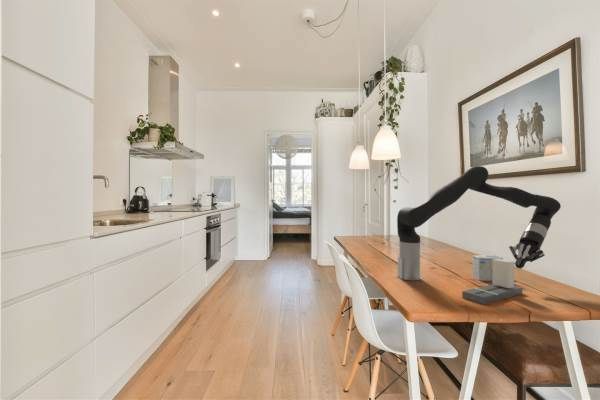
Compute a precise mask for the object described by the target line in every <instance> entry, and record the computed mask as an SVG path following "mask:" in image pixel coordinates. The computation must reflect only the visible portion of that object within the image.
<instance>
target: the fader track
mask: <svg viewBox="0 0 600 400" xmlns="http://www.w3.org/2000/svg"><path fill="white" fill-rule="evenodd" d="M461 293H462V295H461V297H462V299H465V300H469V301H471V302H475V303H478V304H481V305H487V304H490V303H494V302H498V301H502V300H505V299H509V298H511V297H515V296H519V295H522V294H523V287H522V286H518V285H514V287H512V288H505V287H501V286H497V285H493V284H492V283H491V284H488V285H484V286H480V287H472V288H471V289H466V290H463V291H462V292H461Z"/></svg>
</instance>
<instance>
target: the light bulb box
mask: <svg viewBox="0 0 600 400" xmlns="http://www.w3.org/2000/svg"><path fill="white" fill-rule="evenodd" d="M493 259H503V260H504V258H503V257H500V256H497V255H484V254H483V255H481V254H480V255H476V254H475V255H474V254H473V255H472V278H473V279H476V280H477V281H480V282H481V281H482V282H485V281H486V282H492V271H493Z"/></svg>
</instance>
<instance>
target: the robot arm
mask: <svg viewBox="0 0 600 400" xmlns="http://www.w3.org/2000/svg"><path fill="white" fill-rule="evenodd" d="M488 178H489V170H488V169H487V168H486V167H484V166H483V165H477V166H472V167H471V168H468V169H467V170H466V171H464V173H462V174H461V175H460V176H459V177H457V178H455V179H453V180H451V181H450V182H448V183H447V184H445V185H444V186H442V187H439V188H438V189H437V190H435V191H434V192H433V193H432V194H431V195H430V196H429V199H428V200H427V201H426V202H423V204H420V205H419V206H414V207H402V208H401V209H400V210H398V212H397V218H396V223H397V224H396V225H397V236H398V238H399V245H398V246H399V251H398V252H399V253H398V255H399V256H398V257H397V277H398V278H400V280H404V281H405V280H406V281H413V282H414V281H419V280H421V236H420V235H419V234H418V233H417V232H416V230H415V229H416V228H419V227H421V226H422V225H423V224H425V223H426V222H427V221H429V219H431V218H432V217H433V216H435V215H436V214H439V213H440V212H441V211H443V210H445V209H446V208H448V207H450V206H452V205H453V204H454V203H456V202H457V201H458V200H459V199H460V198H461V197H462V196H463V195H464V194H465V193H466V192H467V191H468V190H471V191H474V192H478V193H481V194H485V195H488V196H492V197H496V198H500V199H503V200H505V201H507V202H510V203H513V204H514V205H517V206H519V207H522V208H525V209H527V208H529V207H536V208H535V209H534V211H533V213H532V217H531V219H530V221H529V223H528V225H526V227H525V229H524V231H523V232H522V235H521V236H520V238H519V241H518V243H516V244H515V245H514V246H512V245H510V246H509V247H508V248H509V250H510V252H511V254H512V256H513V257H514V259H515V261H514V266H515V267H516V268H517V269H520V270H521V269H522V268H524V267H525V265H526V264H527V263H528V262H529V263H532V262H535V261H536V260H539V259H541V258H543V257H545V255H546V254H545V253H544V251H543V249H541V247H542V246H543V244H544V241H545V239H546V237H547V234H548V231H549V229H550V227H551V223H552V221H551V220H552V218H553V217H554V216H555V214H556V213H558V212H559V211H560V210H561V208H562V207H561V203H560V202H559V200H557V199H555V198H553V197H550V196H546V195H540V194H534V193H531V192H529V191H526V190H523V189H521V188H519V187H515V186H496V185H492V184H490V183H487V180H488ZM517 252H518V254H517Z"/></svg>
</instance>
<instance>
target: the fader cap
mask: <svg viewBox="0 0 600 400" xmlns="http://www.w3.org/2000/svg"><path fill="white" fill-rule="evenodd" d="M491 284H493V285H497V286H501V287H505V288H512V287H514V286H515V261H512V260H509V259H504V258H503V259H493V271H492V281H491Z"/></svg>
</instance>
